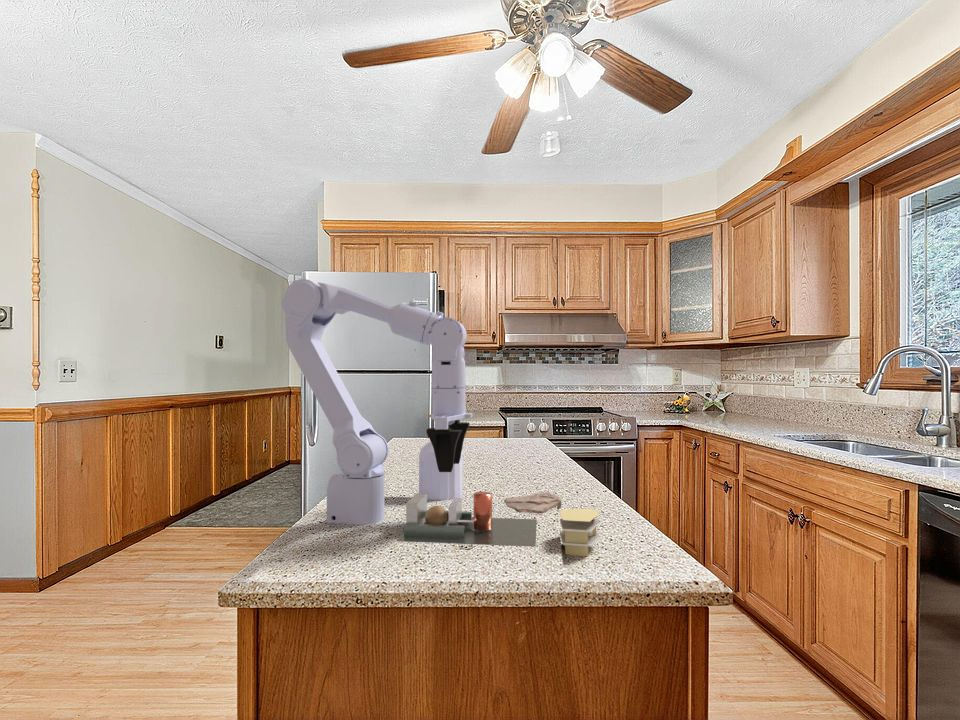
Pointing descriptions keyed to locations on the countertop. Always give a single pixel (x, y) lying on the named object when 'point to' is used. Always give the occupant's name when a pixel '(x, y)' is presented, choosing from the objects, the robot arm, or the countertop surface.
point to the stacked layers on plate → (578, 530)
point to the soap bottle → (438, 477)
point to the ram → (480, 512)
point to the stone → (534, 503)
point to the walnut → (436, 516)
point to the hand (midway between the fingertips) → (449, 467)
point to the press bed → (500, 534)
